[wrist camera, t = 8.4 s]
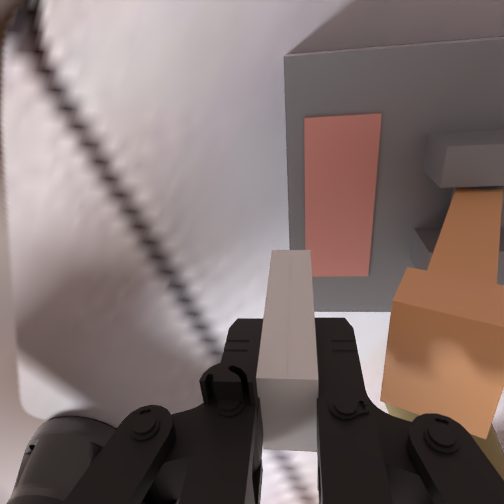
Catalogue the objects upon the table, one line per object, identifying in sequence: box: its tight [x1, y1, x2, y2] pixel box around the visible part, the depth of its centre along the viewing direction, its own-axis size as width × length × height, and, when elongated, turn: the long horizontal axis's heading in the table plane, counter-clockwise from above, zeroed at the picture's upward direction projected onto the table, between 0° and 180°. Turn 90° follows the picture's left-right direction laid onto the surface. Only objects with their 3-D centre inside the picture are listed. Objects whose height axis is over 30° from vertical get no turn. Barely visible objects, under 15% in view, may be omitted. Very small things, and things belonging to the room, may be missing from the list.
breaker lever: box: [380, 186, 504, 439], centre depth 16 cm, size 3×4×14 cm
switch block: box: [284, 36, 504, 312], centre depth 24 cm, size 20×16×11 cm
